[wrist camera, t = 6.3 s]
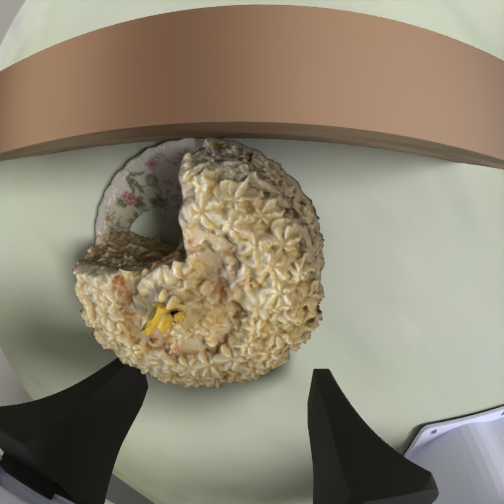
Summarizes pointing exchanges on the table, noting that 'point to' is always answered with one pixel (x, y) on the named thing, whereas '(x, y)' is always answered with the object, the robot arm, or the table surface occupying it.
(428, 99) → the walnut board
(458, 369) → the table surface
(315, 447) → the robot arm
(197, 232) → the cake
